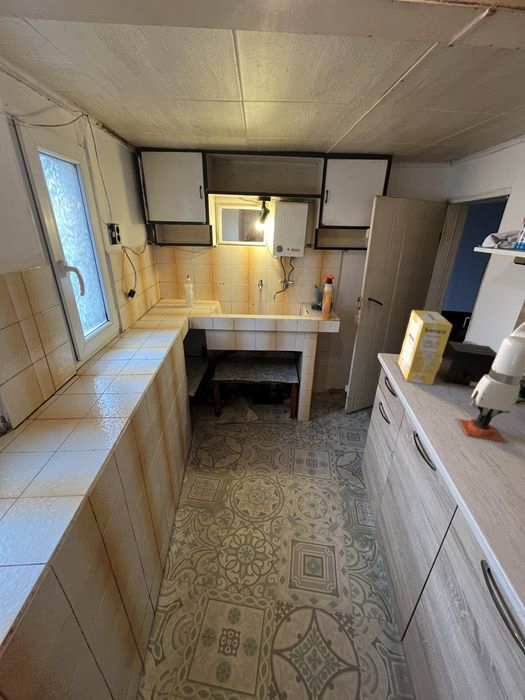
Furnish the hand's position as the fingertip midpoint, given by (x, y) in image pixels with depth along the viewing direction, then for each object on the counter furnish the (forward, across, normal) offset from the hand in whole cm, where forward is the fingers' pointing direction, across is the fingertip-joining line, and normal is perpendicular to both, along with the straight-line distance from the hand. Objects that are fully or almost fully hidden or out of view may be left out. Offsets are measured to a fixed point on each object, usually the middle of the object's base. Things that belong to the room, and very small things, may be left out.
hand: (482, 423), depth 94 cm
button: (+2, 0, 0) cm, 2 cm away
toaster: (+4, -6, -38) cm, 39 cm away
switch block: (+4, 0, 0) cm, 4 cm away
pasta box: (+4, +14, -37) cm, 40 cm away
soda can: (+4, -11, -53) cm, 54 cm away
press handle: (-1, -6, -29) cm, 30 cm away
